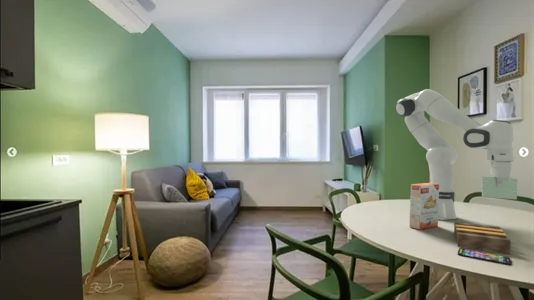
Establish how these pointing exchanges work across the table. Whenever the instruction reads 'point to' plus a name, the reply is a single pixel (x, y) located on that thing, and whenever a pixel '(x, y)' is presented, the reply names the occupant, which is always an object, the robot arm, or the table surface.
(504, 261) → the smartphone
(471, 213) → the table surface
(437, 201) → the cracker box
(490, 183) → the panel
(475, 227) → the rack
